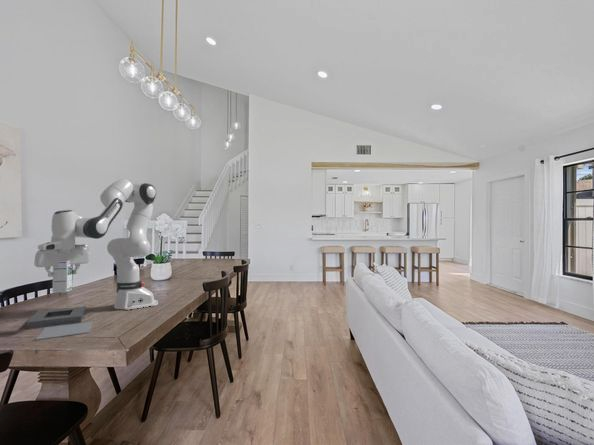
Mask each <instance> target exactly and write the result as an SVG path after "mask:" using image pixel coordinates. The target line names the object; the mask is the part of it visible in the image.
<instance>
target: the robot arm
mask: <svg viewBox="0 0 594 445" xmlns="http://www.w3.org/2000/svg"><path fill="white" fill-rule="evenodd" d="M156 196H157V191H156V187H155V185H153V184H150V183H146V182H145V183H139V182H138V183H132V182H131V181H129V180H128V179H126V178H121V179H118V180H116V181H114V182H112V183H111V184H110V185H109V186H107V187H106V188H105V189H104V190H103V191H102V193H101V194H100V196H99V197H100V198H99V199H100V202H101V204H102V205H103V206H104V209H103V210H102V212H101V213H100V214H99V215H97V216H95V217H83V216H81V215H78V214H77V213H76V212H75V211H74V210H72V209H66V210H65V209H64V210H58V211H55V212H54V213H53V215H52V218H51V232H52V233H51V234H52V236H51V237H50V239H51V241H48V242H45V243H41V244H39V245H37V251H36V253H35V255H34V266H35V267H36V268H44V270H45V271H46V272H47V277H49V278H50V277H53V271H51V268H52V267H53V266H59V261H60V260H70V265H74V266H75V268H74V269H73V275H76V274H78V270H79V269H80V267H81V265H83V264H88V263H89V262H90V259H89V258H90V255H89V250H90V249H89V248H90V247H89V246H88V245H86V244H84V243H83V244H76V238H82V239H83V238H88V239H90V238H91V239H101V238H103V237H105V235H106V234H107V233H108V230H109V229H110V226H111V224H112V223H113V222H114V220H115V218H117V216H118V214H120V212H121V210H122V209H123V207H124V206H123V205H124V203H133V205H134V207H133V209H132V211H131V213H130V215H129V218H128V221H127V224H126V229H127V231H128V232H129V236H128V237H119V238H114V239H113V238H112V239H111V240H110V241H109V242H107V243H108V244H107V246H106V249H107V252H108V254H109V255H110V256H111V257H112V259H113V260H114V263H115V265H116V272H117V282H116V286H115V288H116V289H115V291H116V298H115V303H114V307H113V308H114V309H116V310H124V311H129V310H130V309H132V310H137V308H138V309H143V307H144V308H149V306H151V307H156V306H157V305H158V304H159V301H158V300H157V299H155V297H154V293H153V292H152V291H151V290H149V289H148V288H146V287H145V282H144V281H143V280H141V279H140V266H139V265H138V264H137V263H136V262H135V260H134V258H137V259H138V258H142V257H146V256H148V255H149V253H150V252H151V248H152V247H151V243H150V242H149V240H148V238H147V231H148V228H149V225H150V223H151V220H152V216H153V213H154V212H153V211H154V205H153V203H154V202H155V199H156Z"/></svg>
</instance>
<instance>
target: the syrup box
mask: <svg viewBox="0 0 594 445" xmlns="http://www.w3.org/2000/svg"><path fill="white" fill-rule="evenodd" d="M73 265H74V264H73ZM73 265H70V260H60V261H59V266H52V272H53V276H52V293H55V294H56V293H68V292H70V291H72V290H73V281H74V280H73V279H74V278H73V275H74V274H73V270H74V269H73V267H74V266H73Z"/></svg>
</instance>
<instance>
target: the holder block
mask: <svg viewBox="0 0 594 445" xmlns="http://www.w3.org/2000/svg"><path fill="white" fill-rule="evenodd" d="M86 312H87V306H86V305H85V306H84V305H83V306H78V307H77V306H75V307H65V308H57V309H48V310H38V311H36V312H35V313H34V315H33V316H31V317H30V318H29V319H28V320H27V321H26V327H25V330H30V329H39V328H47V327H55V326H63V325H71V324H78V323H82V320H83V319H84V317H85V314H86Z"/></svg>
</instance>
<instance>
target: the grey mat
mask: <svg viewBox="0 0 594 445" xmlns="http://www.w3.org/2000/svg"><path fill="white" fill-rule="evenodd" d="M93 323H94V322H93V321H88V322H80V323H72V324H64V325H56V326H48V327H43V329H42V331H41V332H40V333H39V334H38V336H37V337H36V338H35V341H40V340H48V339H49V340H50V339H56V338H63V337H70V336H77V335H84V334H89V333H90V332H91V329H92V326H93Z"/></svg>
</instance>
